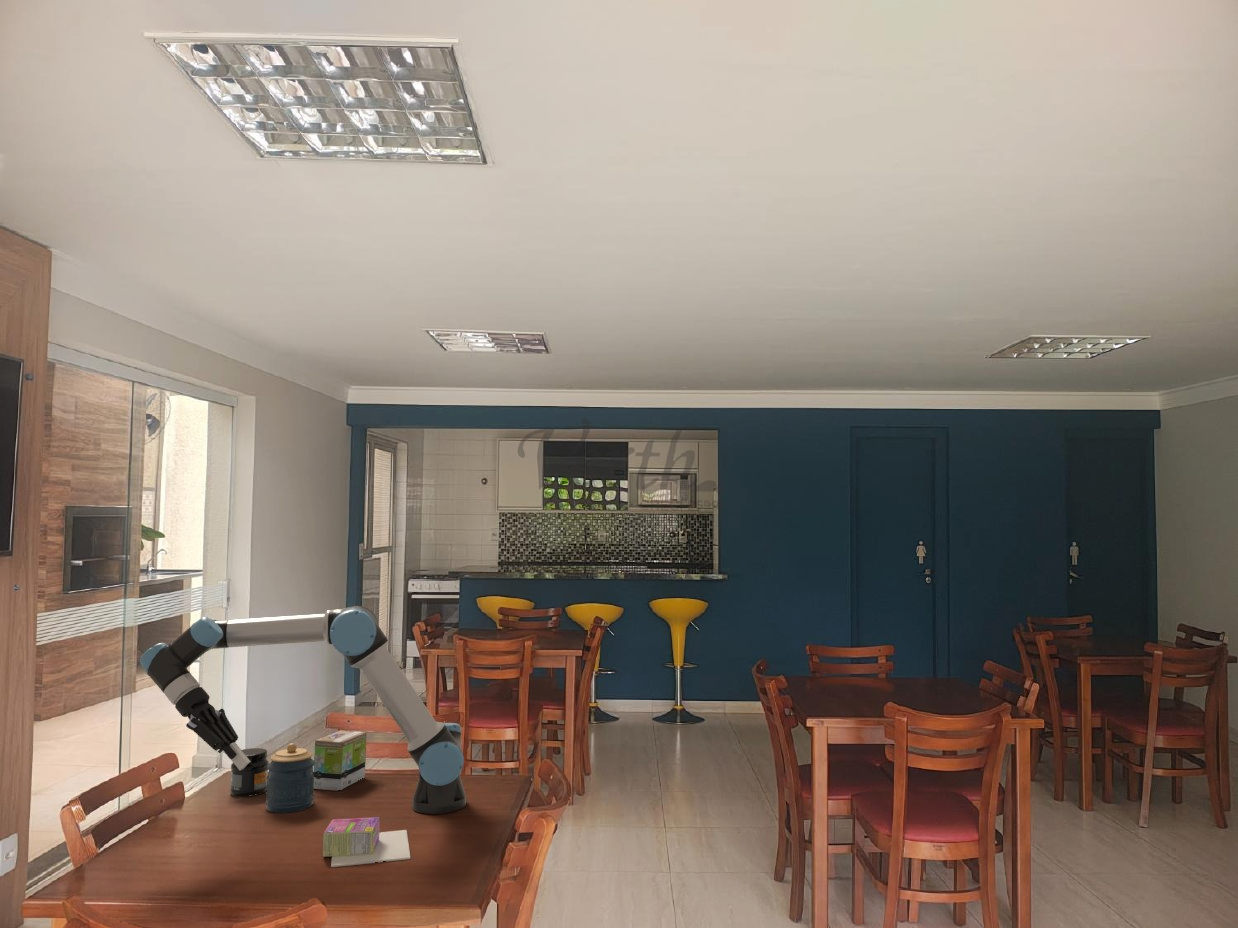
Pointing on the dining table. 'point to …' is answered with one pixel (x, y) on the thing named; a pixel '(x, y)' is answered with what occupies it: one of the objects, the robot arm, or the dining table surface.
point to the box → (351, 837)
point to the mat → (380, 850)
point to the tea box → (339, 760)
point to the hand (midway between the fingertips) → (245, 765)
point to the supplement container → (250, 774)
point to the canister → (290, 780)
